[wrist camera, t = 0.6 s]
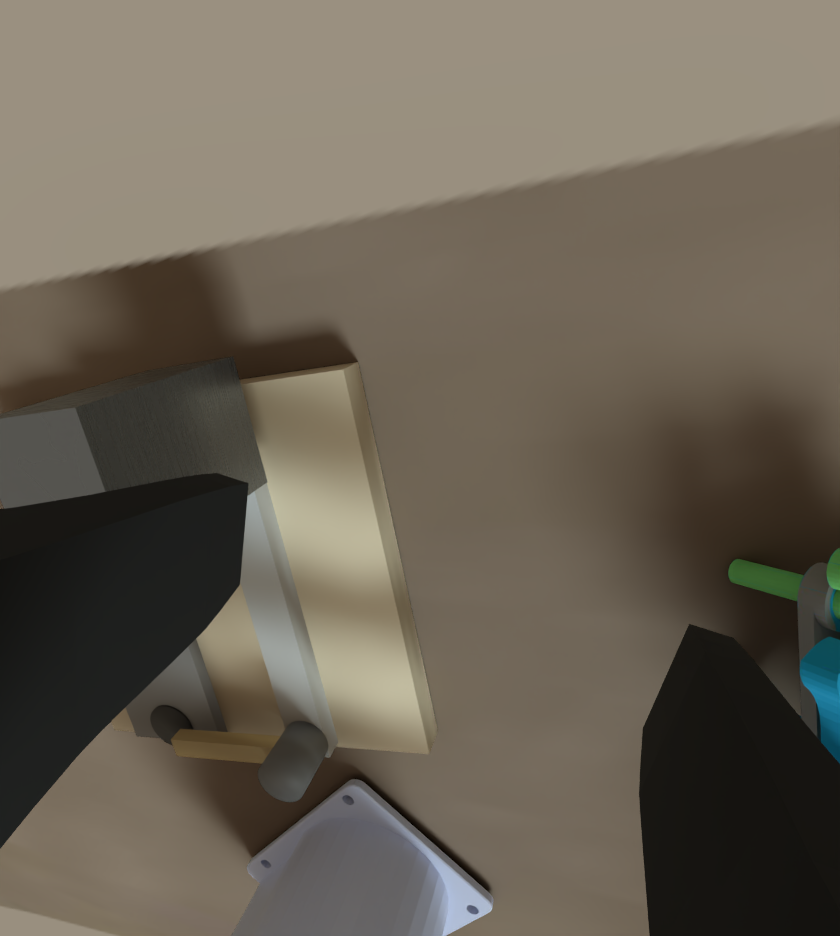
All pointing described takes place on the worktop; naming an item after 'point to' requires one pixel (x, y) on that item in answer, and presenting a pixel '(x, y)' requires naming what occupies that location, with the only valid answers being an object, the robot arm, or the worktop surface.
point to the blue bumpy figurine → (809, 636)
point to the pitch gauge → (303, 605)
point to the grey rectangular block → (130, 435)
